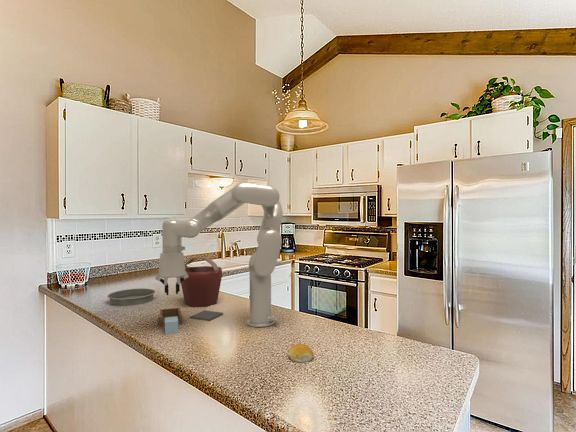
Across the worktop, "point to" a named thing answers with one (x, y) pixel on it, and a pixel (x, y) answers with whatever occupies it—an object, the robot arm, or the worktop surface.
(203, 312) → the mat
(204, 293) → the bucket
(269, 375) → the worktop surface
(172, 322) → the block
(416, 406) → the worktop surface
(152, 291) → the cake pan
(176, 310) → the shelf bay
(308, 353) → the bread roll
